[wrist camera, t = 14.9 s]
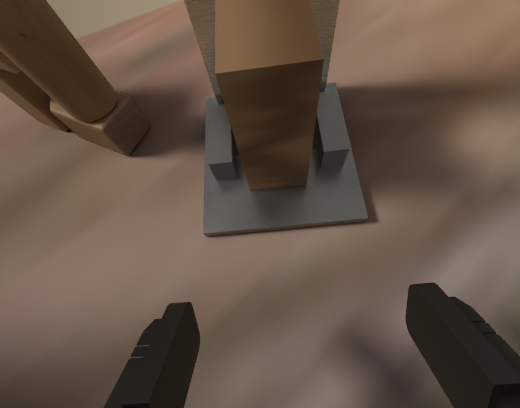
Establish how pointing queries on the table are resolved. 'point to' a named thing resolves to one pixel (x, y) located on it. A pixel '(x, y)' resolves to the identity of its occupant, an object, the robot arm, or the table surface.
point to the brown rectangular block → (270, 85)
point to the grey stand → (321, 161)
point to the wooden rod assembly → (62, 79)
